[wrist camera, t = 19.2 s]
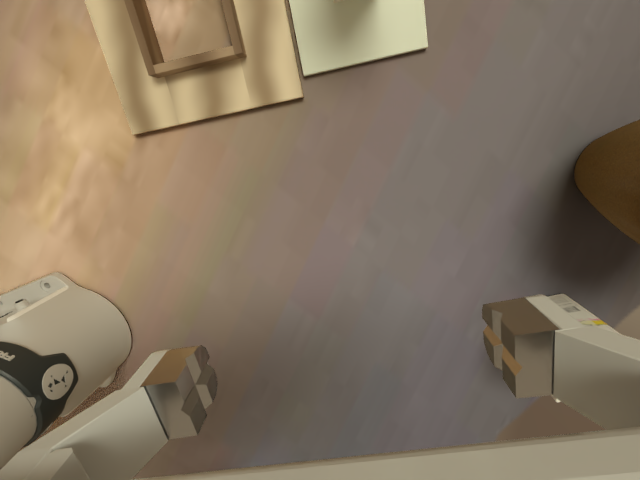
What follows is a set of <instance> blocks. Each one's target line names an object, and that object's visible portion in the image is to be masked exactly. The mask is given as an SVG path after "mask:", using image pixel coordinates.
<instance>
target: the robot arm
mask: <svg viewBox="0 0 640 480" xmlns="http://www.w3.org/2000/svg"><path fill="white" fill-rule="evenodd" d="M49 284H50V285H49ZM482 318H483V319H484V321H485V322H486V323H487V327H486V328H485V330H484V331H483V336H484V344H485V348H486V351H487V354H488V356H489V358H490V360H491V362H492V363H493V365H494V366H495V367H497V368H499V369H501V370H502V374H503V380H504V381H505V383H506V384H507V386H508V387H509V389H510V390H511V392H512V393H513V394H514V396H515V397H516V398H525V397H536V396H548V395H553V397H555V398H556V399H558V400H560V401H561V402H563V403H564V404H566V405H568V406H569V407H571V408H573V409H574V410H576V411H577V412H579V413H581V414H582V415H584V416H585V417H587V418H589V419H590V420H592V421H594V422H595V423H597V424H599V425H600V426H602V427H603V428H605V429H606V430H602V431H592V432H582V433H574V434H564V435H555V436H546V437H535V438H526V439H516V440H507V441H496V442H487V443H477V444H467V445H457V446H448V447H438V448H428V449H418V450H409V451H399V452H389V453H379V454H370V455H361V456H351V457H342V458H332V459H323V460H313V461H304V462H294V463H285V464H275V465H266V466H256V467H246V468H236V469H227V470H217V471H207V472H198V473H188V474H178V475H169V476H159V477H149V478H140V479H132V478H133V477H134V476H135V475H136V474H137V473H138V472H139V471H140V470H141V469H142V468H143V467H144V466H145V465H146V464H147V463H148V462H149V461H150V460H151V459H152V458H153V457H154V456H155V455H156V453H157V452H158V451H159V450H160V449H161V448H162V447H163V446H164V445H165V444H166V443H167V442H168V440H170V439H177V438H183V437H190V436H197V435H198V433H199V431H200V429H201V427H202V425H203V422H204V420H205V418H206V416H207V414H206V411H205V409H206V408H207V407H208V406H209V405H210V404H211V403H212V402H213V400H214V398H215V396H216V391H217V377H216V374H215V371H214V369H213V368H212V367H211V366H209V365H208V364H207V362H208V359H209V354H208V352H207V350H206V348H205V347H204V346H202V345H200V346H192V347H184V348H176V349H171V350H170V349H168V350H162V351H156V352H153V353H151V355H150V356H149V357H148V358H147V359H146V361H145V362H144V363H143V364H142V365H141V366H140V368H139V369H138V370H137V371H136V372H135V374H134V375H133V376H132V377H131V378H130V380H129V381H128V382H127V383H126V384H125V386H124V387H123V388H122V389H121V390H116V391H114V392H113V393H111V394H109V395H108V396H106V397H105V398H103V399H102V400H100V401H98V402H97V403H95V404H94V405H92V406H90V407H89V408H87V409H86V410H84V411H83V412H81V413H79V414H78V415H76V416H75V417H73V418H71V419H70V420H68V421H67V422H65V423H64V424H62V425H60V426H59V427H57V428H56V429H54V430H52V431H51V432H49V433H48V434H46V435H45V436H43V437H41V438H40V439H38V440H37V441H35V440H36V439H37V438H38V437H39V436H40V435H42V434H43V433H44V432H45V431H46V430H47V429H48V428H49V427H50V426H51V425H52V424H53V422H54V421H55V420H56V419H57V418H58V417H65V416H67V415H68V414H70V413H71V412H72V411H73V410H74V409H75V408H76V407H78V406H79V405H80V404H81V403H82V402H83V401H84V400H85V399H86V398H87V397H89V396H90V395H91V394H92V393H93V392H94V391H95V390H96V389H97V388H98V387H107V386H108V385H110V384H111V383H112V382H113V380H114V378H115V375H116V370H117V368H118V367H119V366H120V365H121V364H122V363H123V362H124V361H125V360H126V358H127V357H128V355H129V352H130V349H131V333H130V329H129V326H128V324H127V322H126V320H125V318H124V317H123V315H122V314H121V313H120V311H119V310H118V309H117V308H116V307H115V306H114V305H113V304H112V303H111V302H109V301H108V300H107V299H105V298H104V297H102V296H101V295H99V294H97V293H95V292H93V291H90V290H88V289H85V288H82V287H80V286H78V285H76V284H75V283H74V282H72V281H71V280H70V279H69V278H67V277H66V276H64V275H63V274H61V273H58V272H53V273H50V274H48V275H46V276H43V277H41V278H38V279H36V280H34V281H31V282H29V283H27V284H24V285H22V286H19V287H17V288H15V289H12V290H10V291H8V292H5V293H3V294H0V480H640V340H638V339H634V338H631V337H628V336H624V335H621V334H618V333H614V332H611V331H608V330H605V329H601V328H598V327H595V326H584V325H582V324H581V323H580V322H579V321H577V320H576V319H575V318H573V317H572V316H571V315H570V314H568V313H567V312H566V311H564V310H563V309H562V308H561V307H559V306H558V305H557V304H556V303H554V302H553V301H552V300H550V299H549V298H548V297H547V296H545V295H541V294H539V295H533V296H528V297H523V298H518V299H512V300H506V301H500V302H494V303H489V304H483V307H482ZM33 441H35V442H33ZM32 442H33V443H32ZM31 443H32V444H31ZM29 444H30V445H29ZM27 445H29V446H27ZM25 446H27V447H26V448H24V449H22V450H21V451H19V450H20V449H21V448H23V447H25ZM18 451H19V452H18ZM17 452H18V453H17ZM16 453H17V454H16Z"/></svg>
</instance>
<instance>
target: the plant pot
mask: <svg viewBox="0 0 640 480" xmlns="http://www.w3.org/2000/svg"><path fill="white" fill-rule="evenodd" d="M574 177H575V182H576V185H577V187H578V189H579V190H580V191H581V193H582V194H583V195H584V196H585V197H586V199H587V200H588V201H589V202H590V203H591V204H592V205H593V206H594V207H595V208H596V209H597V210H598V211H599V212H600V213H601V214H602V215H603V216H604V217H605V218H606V219H608V220H609V221H610V222H611V223H612V224H613V225H614V226H616V227H617V228H618V229H619V230H621V231H622V232H623V233H625V234H626V235H627V236H629V237H630V238H631V239H633V240H634V241H636V242H637V243H638V244H640V120H638V121H635V122H633V123H630V124H628V125H625V126H623V127H621V128H618V129H616V130H614V131H612V132H610V133H608V134H606V135H604V136H602V137H600V138H598V139H596V140H594V141H593V142H592V143H591V144H589V145H588V146H587V147H586V148H585V149H584V151H583V152H582V153H581V155H580V157H579V158H578V160H577V163H576V166H575V172H574Z"/></svg>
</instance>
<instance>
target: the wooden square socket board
mask: <svg viewBox="0 0 640 480" xmlns="http://www.w3.org/2000/svg"><path fill="white" fill-rule="evenodd" d="M84 1H85V4H86V6H87V9H88V12H89V15H90V18H91V20H92V23H93V26H94V29H95V31H96V34H97V37H98V40H99V43H100V45H101V48H102V51H103V54H104V57H105V59H106V62H107V65H108V68H109V70H110V73H111V76H112V79H113V82H114V84H115V87H116V90H117V93H118V96H119V98H120V101H121V104H122V107H123V109H124V112H125V115H126V118H127V121H128V123H129V126H130V129H131V132H132V135H138V134H143V133H147V132H152V131H156V130H161V129H165V128H170V127H174V126H178V125H183V124H187V123H192V122H196V121H201V120H205V119H210V118H214V117H219V116H223V115H227V114H232V113H236V112H241V111H245V110H250V109H254V108H259V107H263V106H268V105H272V104H276V103H281V102H285V101H290V100H294V99H299V98H303V97H304V95H303V90H302V85H301V80H300V75H299V70H298V65H297V60H296V55H295V50H294V45H293V40H292V35H291V30H290V25H289V20H288V15H287V10H286V5H285V0H221V2H222V6H223V10H224V14H225V18H226V22H227V26H228V30H229V34H230V38H231V42H232V46H229V47H225V48H221V49H217V50H212V51H208V52H204V53H200V54H196V55H192V56H188V57H184V58H180V59H176V60H172V61H168V62H164V60H163V57H162V54H161V50H160V47H159V44H158V41H157V37H156V34H155V31H154V28H153V25H152V21H151V18H150V15H149V12H148V9H147V5H146V2H145V0H84Z"/></svg>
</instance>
